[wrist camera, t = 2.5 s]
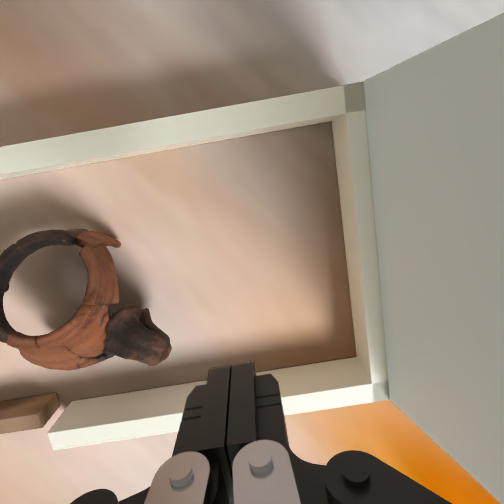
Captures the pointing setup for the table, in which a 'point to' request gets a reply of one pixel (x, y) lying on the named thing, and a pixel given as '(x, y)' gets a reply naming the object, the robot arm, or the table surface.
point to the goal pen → (27, 412)
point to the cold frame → (367, 246)
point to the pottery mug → (84, 311)
